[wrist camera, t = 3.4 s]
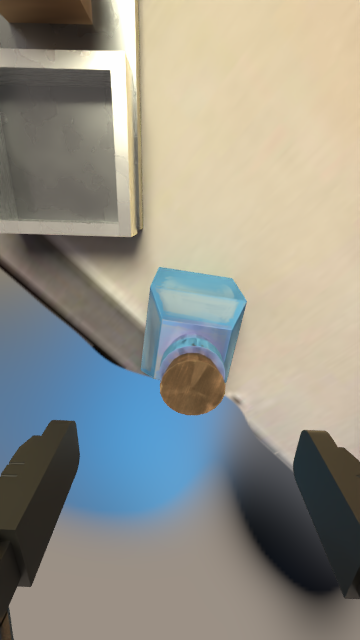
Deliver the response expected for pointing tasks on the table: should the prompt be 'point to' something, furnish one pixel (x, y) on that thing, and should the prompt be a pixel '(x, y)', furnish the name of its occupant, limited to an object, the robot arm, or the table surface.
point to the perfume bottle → (191, 337)
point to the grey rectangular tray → (71, 125)
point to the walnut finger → (47, 11)
